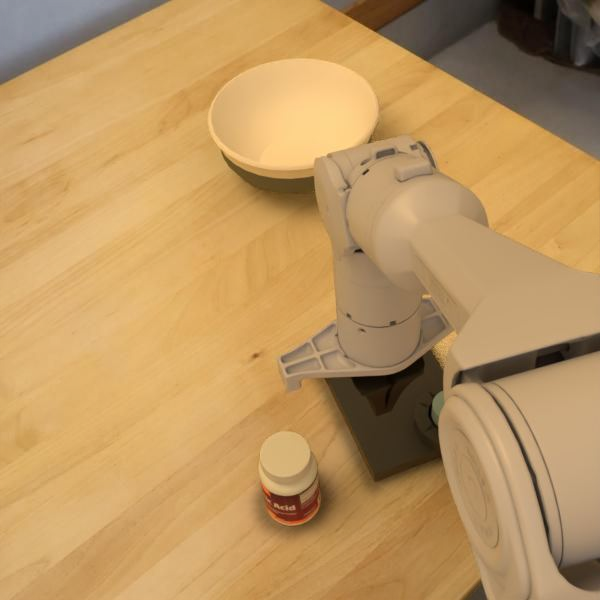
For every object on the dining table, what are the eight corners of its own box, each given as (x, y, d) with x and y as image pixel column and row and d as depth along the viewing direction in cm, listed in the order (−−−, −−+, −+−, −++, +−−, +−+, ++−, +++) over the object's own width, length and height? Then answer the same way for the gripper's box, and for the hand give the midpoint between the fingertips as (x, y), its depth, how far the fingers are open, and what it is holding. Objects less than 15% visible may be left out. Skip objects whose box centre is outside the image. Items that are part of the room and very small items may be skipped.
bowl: (382, 222, 92) (382, 165, 86) (210, 226, 93) (198, 170, 87) (378, 111, 104) (377, 53, 97) (225, 116, 105) (215, 60, 99)
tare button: (475, 424, 73) (477, 413, 71) (441, 437, 72) (442, 426, 71) (458, 395, 75) (459, 383, 73) (425, 407, 74) (425, 396, 73)
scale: (496, 447, 74) (499, 429, 72) (379, 492, 72) (379, 476, 70) (429, 336, 82) (431, 317, 80) (322, 374, 80) (321, 356, 78)
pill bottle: (254, 509, 72) (241, 461, 66) (287, 466, 74) (277, 416, 68) (300, 538, 70) (292, 492, 64) (332, 493, 73) (327, 444, 66)
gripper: (451, 220, 60) (441, 336, 70) (255, 284, 57) (275, 393, 68) (500, 292, 55) (481, 403, 66) (290, 364, 53) (305, 468, 64)
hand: (379, 403), depth 67 cm, fingers closed
